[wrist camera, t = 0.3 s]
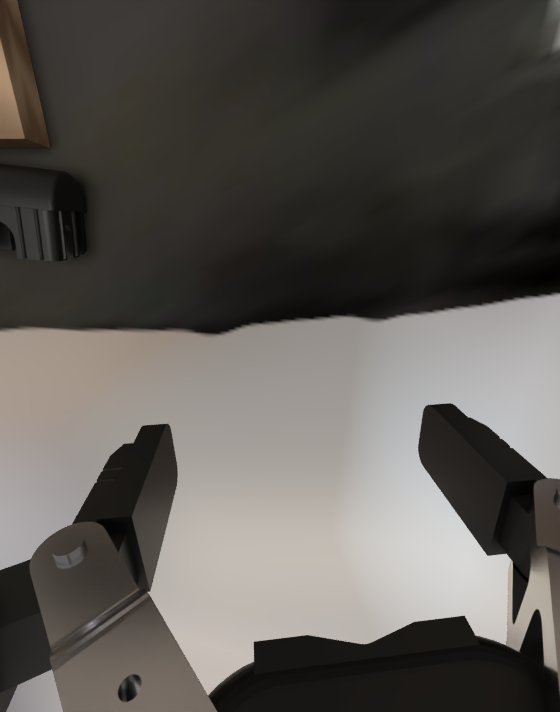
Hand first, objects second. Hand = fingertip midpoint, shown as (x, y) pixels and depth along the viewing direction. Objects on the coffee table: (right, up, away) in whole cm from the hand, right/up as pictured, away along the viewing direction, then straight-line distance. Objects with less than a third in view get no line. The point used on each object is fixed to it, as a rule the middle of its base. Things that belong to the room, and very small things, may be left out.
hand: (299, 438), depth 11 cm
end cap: (-24, +16, +22) cm, 37 cm away
